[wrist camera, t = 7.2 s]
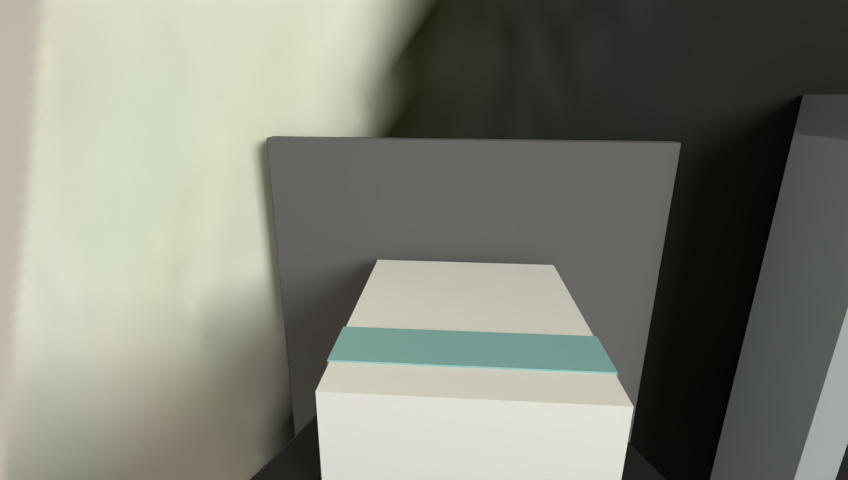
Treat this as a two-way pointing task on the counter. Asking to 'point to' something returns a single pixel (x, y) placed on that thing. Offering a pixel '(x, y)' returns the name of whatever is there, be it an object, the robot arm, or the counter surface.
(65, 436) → the counter surface
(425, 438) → the carton
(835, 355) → the tray rim
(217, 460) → the counter surface
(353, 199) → the gray panel
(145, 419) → the counter surface
